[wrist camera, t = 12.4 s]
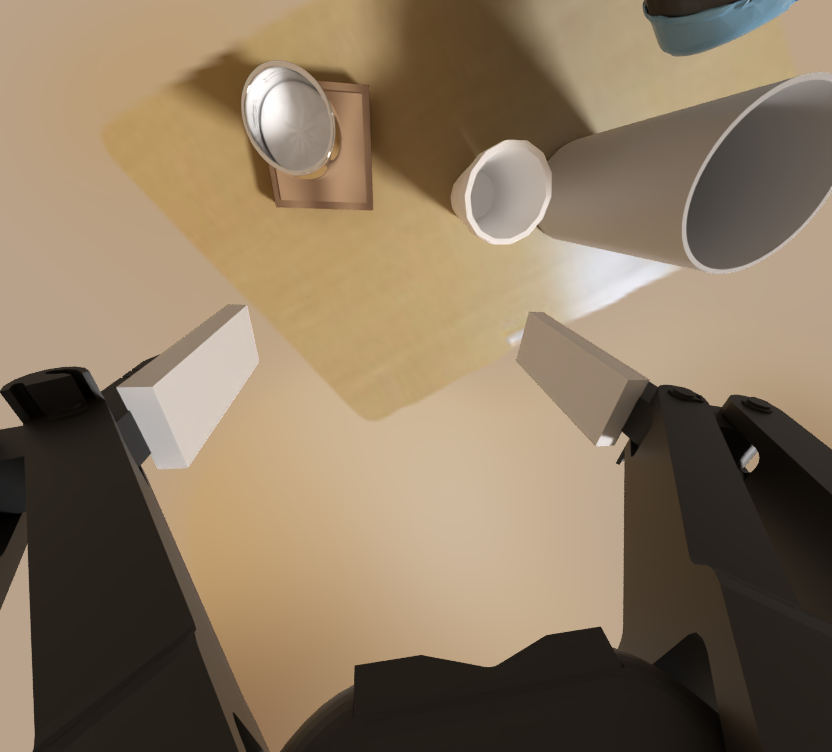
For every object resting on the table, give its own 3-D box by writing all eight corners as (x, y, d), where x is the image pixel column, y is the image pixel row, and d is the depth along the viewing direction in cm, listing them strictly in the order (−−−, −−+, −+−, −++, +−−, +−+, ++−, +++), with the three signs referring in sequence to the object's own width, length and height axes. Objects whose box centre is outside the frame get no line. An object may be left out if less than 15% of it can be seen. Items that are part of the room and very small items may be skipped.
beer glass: (299, 190, 36) (262, 185, 24) (277, 116, 33) (218, 64, 20) (355, 180, 37) (348, 170, 24) (339, 106, 33) (321, 47, 20)
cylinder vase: (631, 167, 43) (887, 137, 22) (576, 252, 48) (739, 295, 27) (566, 118, 39) (804, 22, 18) (514, 217, 44) (649, 234, 23)
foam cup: (434, 164, 40) (459, 151, 29) (501, 147, 40) (553, 127, 29) (445, 240, 45) (471, 254, 34) (505, 225, 45) (550, 233, 34)
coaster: (368, 93, 35) (368, 84, 32) (372, 209, 41) (373, 210, 39) (261, 84, 34) (251, 74, 31) (282, 206, 40) (275, 207, 37)
